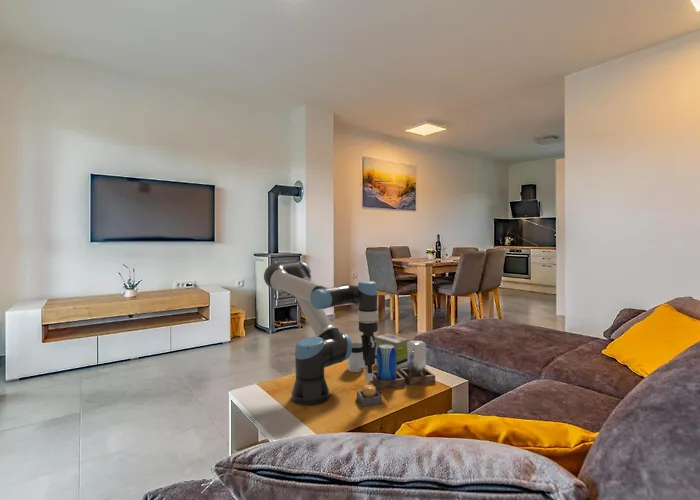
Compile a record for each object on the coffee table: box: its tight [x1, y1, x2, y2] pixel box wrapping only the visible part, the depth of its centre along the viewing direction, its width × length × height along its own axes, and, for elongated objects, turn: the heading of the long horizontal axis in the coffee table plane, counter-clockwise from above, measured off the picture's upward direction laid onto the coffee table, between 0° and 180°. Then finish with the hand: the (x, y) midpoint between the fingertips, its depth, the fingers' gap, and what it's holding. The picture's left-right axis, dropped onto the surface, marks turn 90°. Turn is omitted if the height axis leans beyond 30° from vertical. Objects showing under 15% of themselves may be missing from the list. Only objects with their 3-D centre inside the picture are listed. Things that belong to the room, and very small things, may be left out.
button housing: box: [356, 389, 383, 408], centre depth 142 cm, size 8×8×3 cm
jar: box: [346, 342, 365, 373], centre depth 177 cm, size 9×8×12 cm
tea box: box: [374, 333, 410, 371], centre depth 180 cm, size 15×10×15 cm
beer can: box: [376, 344, 398, 381], centre depth 156 cm, size 8×8×16 cm
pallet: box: [369, 367, 437, 395], centre depth 158 cm, size 26×14×4 cm, turn 104°
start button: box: [362, 384, 376, 398], centre depth 142 cm, size 5×5×3 cm
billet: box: [407, 340, 427, 377], centre depth 160 cm, size 8×8×16 cm
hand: (369, 380), depth 142 cm, fingers closed
